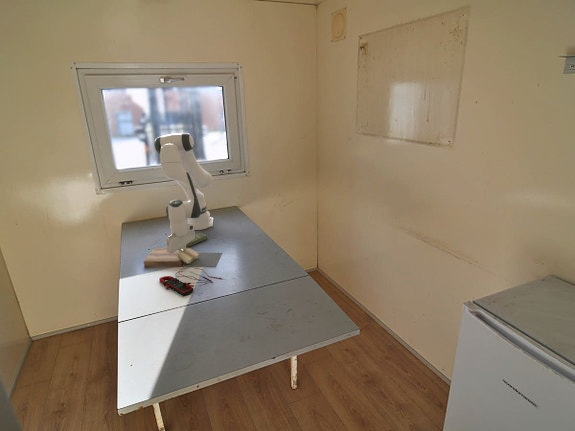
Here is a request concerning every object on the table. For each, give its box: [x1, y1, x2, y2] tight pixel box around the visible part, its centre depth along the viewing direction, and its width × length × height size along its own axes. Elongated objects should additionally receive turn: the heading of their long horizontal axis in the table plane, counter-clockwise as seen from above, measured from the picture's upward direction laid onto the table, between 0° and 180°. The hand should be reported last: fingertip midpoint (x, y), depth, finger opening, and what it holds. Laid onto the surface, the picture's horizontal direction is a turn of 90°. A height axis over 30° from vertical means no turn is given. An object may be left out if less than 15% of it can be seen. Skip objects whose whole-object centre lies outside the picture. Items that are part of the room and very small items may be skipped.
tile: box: [178, 247, 200, 264], centre depth 188 cm, size 10×7×2 cm
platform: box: [143, 247, 190, 268], centre depth 191 cm, size 16×20×4 cm
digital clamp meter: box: [158, 267, 226, 298], centre depth 170 cm, size 23×4×25 cm
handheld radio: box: [186, 232, 209, 248], centre depth 209 cm, size 7×3×25 cm
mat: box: [181, 252, 222, 268], centre depth 191 cm, size 16×18×1 cm
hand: (182, 252), depth 190 cm, fingers closed, pressing on tile
